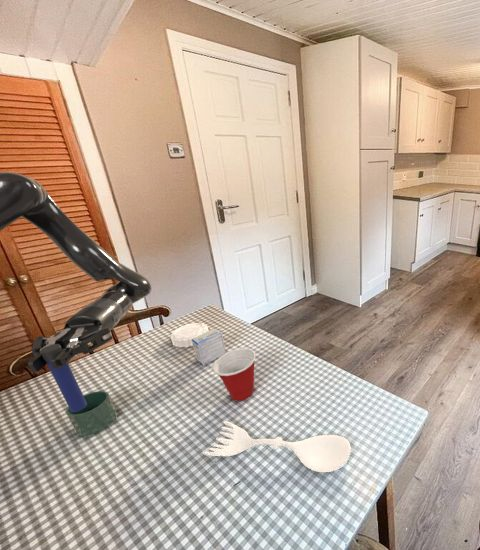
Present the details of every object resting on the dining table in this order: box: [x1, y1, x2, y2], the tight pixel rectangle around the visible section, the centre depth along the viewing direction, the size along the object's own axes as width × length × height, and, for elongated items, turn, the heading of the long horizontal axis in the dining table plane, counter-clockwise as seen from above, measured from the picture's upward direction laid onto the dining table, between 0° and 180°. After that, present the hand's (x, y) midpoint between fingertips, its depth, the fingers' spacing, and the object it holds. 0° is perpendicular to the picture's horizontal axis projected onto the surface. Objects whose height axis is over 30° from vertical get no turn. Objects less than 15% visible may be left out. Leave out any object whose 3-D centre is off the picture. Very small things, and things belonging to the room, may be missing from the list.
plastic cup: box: [212, 347, 257, 402], centre depth 83 cm, size 11×11×12 cm
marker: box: [40, 344, 87, 412], centre depth 61 cm, size 3×3×15 cm
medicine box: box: [192, 328, 227, 366], centre depth 99 cm, size 8×4×9 cm, turn 144°
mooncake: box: [169, 322, 210, 349], centre depth 110 cm, size 12×12×4 cm
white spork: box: [201, 420, 352, 473], centre depth 68 cm, size 9×32×4 cm, turn 83°
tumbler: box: [65, 390, 118, 437], centre depth 75 cm, size 8×8×7 cm
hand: (43, 366), depth 56 cm, fingers closed on marker, 3 cm apart
